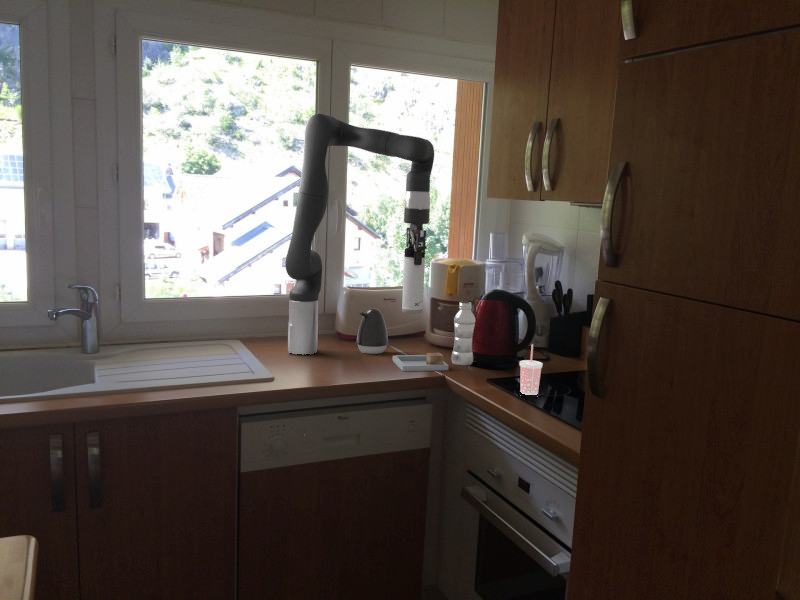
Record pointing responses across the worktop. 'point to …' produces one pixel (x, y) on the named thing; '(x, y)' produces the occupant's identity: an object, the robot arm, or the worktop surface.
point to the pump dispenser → (372, 332)
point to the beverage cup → (530, 375)
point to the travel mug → (413, 283)
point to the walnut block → (434, 359)
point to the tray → (416, 363)
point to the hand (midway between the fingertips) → (414, 263)
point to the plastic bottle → (463, 335)
